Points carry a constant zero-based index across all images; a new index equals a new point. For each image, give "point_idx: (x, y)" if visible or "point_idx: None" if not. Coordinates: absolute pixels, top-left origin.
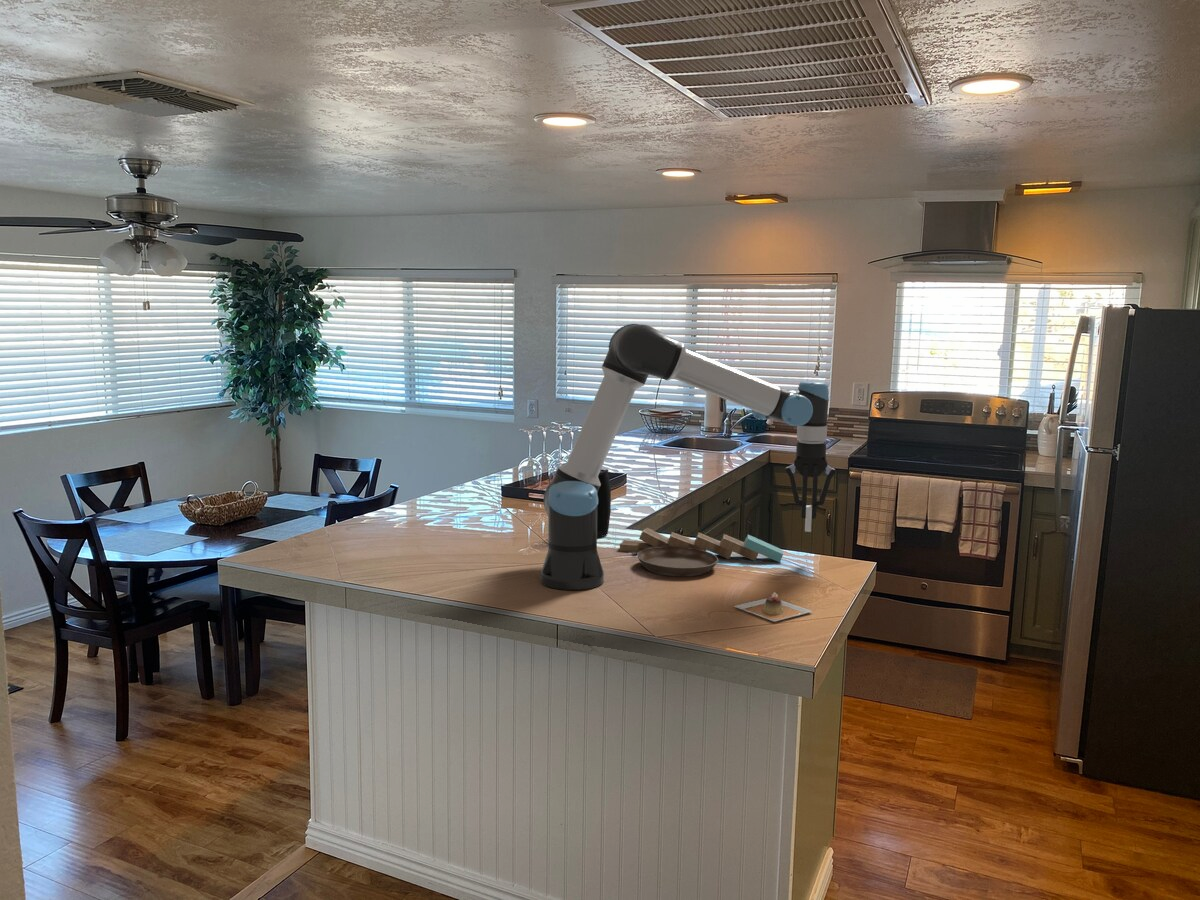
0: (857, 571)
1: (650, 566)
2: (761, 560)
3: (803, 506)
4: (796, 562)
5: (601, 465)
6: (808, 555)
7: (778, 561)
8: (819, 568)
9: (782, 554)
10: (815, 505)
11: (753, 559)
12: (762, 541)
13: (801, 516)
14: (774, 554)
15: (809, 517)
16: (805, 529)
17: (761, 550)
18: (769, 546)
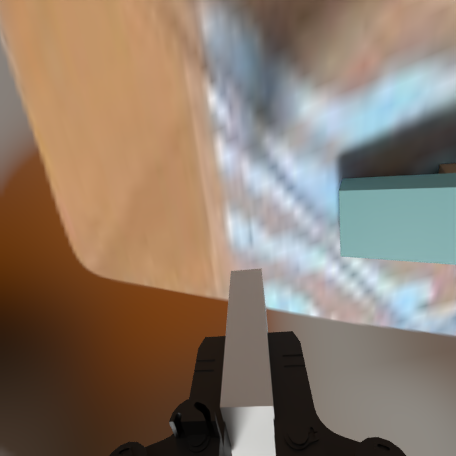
0: (70, 163)
1: None
2: None
3: (299, 413)
4: (281, 203)
5: None
6: None
7: (347, 178)
8: (195, 152)
9: (342, 190)
10: (181, 422)
11: (450, 164)
12: (441, 253)
13: (297, 340)
14: (375, 184)
15: (240, 331)
16: (260, 276)
17: (442, 179)
18: (407, 220)
